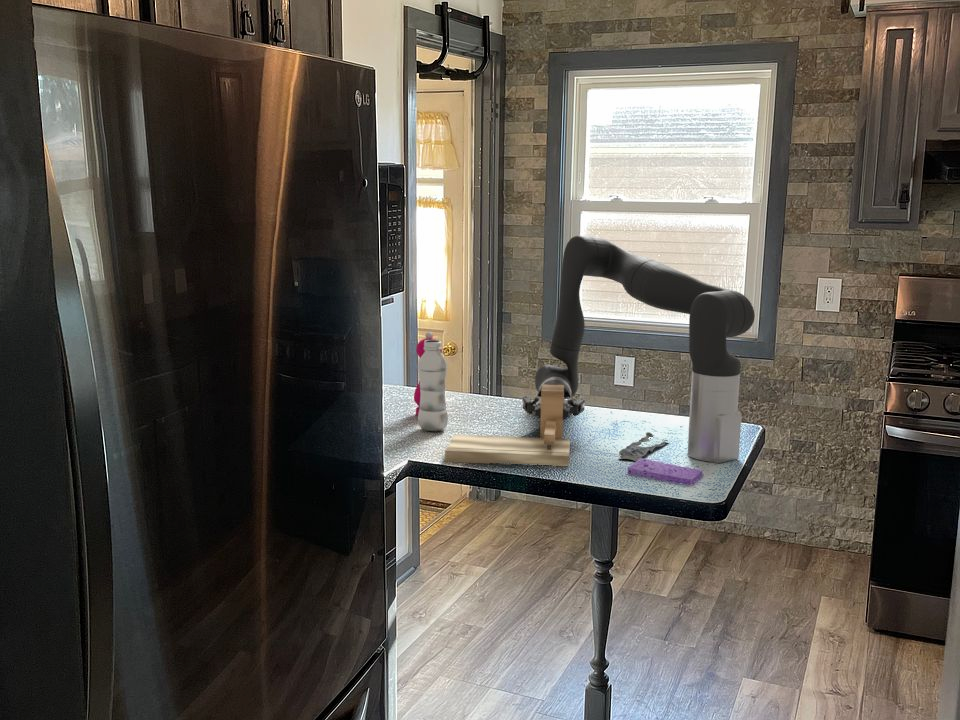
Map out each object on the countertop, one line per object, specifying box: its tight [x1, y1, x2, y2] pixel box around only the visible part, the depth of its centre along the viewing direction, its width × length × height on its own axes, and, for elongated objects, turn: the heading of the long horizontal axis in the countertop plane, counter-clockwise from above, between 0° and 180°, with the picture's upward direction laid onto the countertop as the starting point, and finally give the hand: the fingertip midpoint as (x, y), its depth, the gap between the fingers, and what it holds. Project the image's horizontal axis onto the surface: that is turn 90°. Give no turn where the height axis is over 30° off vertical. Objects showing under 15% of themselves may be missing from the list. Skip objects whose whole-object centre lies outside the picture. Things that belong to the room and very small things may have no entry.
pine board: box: [444, 434, 571, 467], centre depth 175 cm, size 12×24×2 cm, turn 83°
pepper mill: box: [413, 331, 443, 418], centre depth 204 cm, size 7×7×20 cm
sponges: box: [626, 457, 703, 486], centre depth 164 cm, size 7×13×2 cm, turn 58°
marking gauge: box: [539, 384, 564, 450], centre depth 177 cm, size 18×4×12 cm, turn 173°
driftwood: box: [617, 431, 669, 462], centre depth 181 cm, size 21×7×2 cm, turn 146°
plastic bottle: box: [417, 339, 449, 432], centre depth 191 cm, size 6×7×20 cm
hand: (551, 414), depth 180 cm, fingers closed on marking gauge, 4 cm apart
